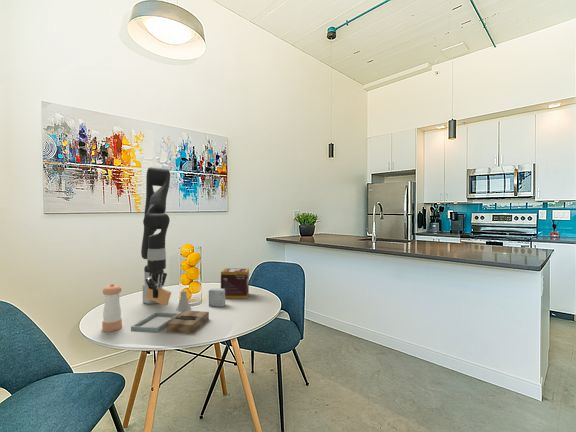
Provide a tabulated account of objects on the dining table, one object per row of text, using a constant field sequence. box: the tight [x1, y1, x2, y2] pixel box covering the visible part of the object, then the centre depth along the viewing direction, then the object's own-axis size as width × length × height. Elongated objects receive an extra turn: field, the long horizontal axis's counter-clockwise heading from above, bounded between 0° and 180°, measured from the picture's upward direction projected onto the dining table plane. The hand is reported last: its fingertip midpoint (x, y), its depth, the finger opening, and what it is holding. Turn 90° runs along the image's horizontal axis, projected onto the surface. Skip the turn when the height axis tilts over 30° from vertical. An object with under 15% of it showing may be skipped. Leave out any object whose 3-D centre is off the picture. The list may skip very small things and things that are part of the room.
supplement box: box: [220, 268, 250, 299], centre depth 180 cm, size 10×15×16 cm
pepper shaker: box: [101, 283, 123, 332], centre depth 130 cm, size 7×7×19 cm
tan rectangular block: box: [146, 287, 172, 307], centre depth 133 cm, size 6×2×10 cm
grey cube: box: [208, 287, 226, 307], centre depth 162 cm, size 8×4×9 cm, turn 84°
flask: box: [176, 290, 192, 313], centre depth 152 cm, size 7×7×10 cm
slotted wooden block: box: [165, 310, 210, 334], centre depth 131 cm, size 12×16×5 cm
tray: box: [130, 311, 180, 333], centre depth 133 cm, size 12×18×2 cm, turn 172°
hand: (156, 297), depth 133 cm, fingers closed on tan rectangular block, 1 cm apart
